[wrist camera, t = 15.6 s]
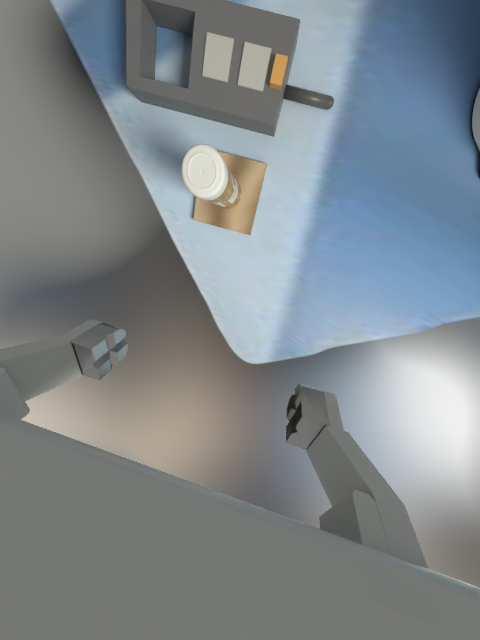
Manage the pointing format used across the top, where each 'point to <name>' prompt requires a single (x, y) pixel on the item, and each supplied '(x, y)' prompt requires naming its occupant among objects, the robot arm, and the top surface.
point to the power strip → (218, 61)
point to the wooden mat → (244, 211)
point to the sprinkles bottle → (210, 177)
